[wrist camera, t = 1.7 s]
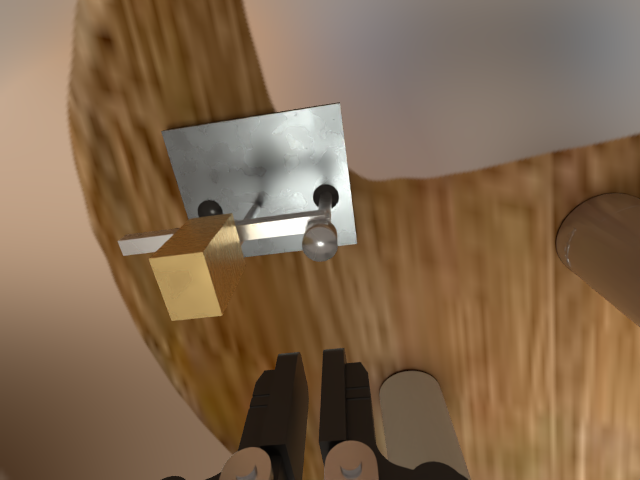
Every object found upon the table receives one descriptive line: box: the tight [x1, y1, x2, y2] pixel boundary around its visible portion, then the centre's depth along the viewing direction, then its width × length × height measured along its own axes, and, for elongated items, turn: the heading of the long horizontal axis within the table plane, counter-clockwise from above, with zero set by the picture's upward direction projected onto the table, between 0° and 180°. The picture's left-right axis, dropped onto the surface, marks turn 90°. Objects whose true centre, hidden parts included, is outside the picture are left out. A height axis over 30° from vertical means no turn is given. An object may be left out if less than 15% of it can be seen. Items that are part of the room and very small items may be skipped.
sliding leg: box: [149, 204, 261, 321], centre depth 28 cm, size 3×4×18 cm
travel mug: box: [379, 371, 471, 480], centre depth 41 cm, size 8×8×18 cm
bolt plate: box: [118, 103, 357, 261], centre depth 32 cm, size 18×14×14 cm
